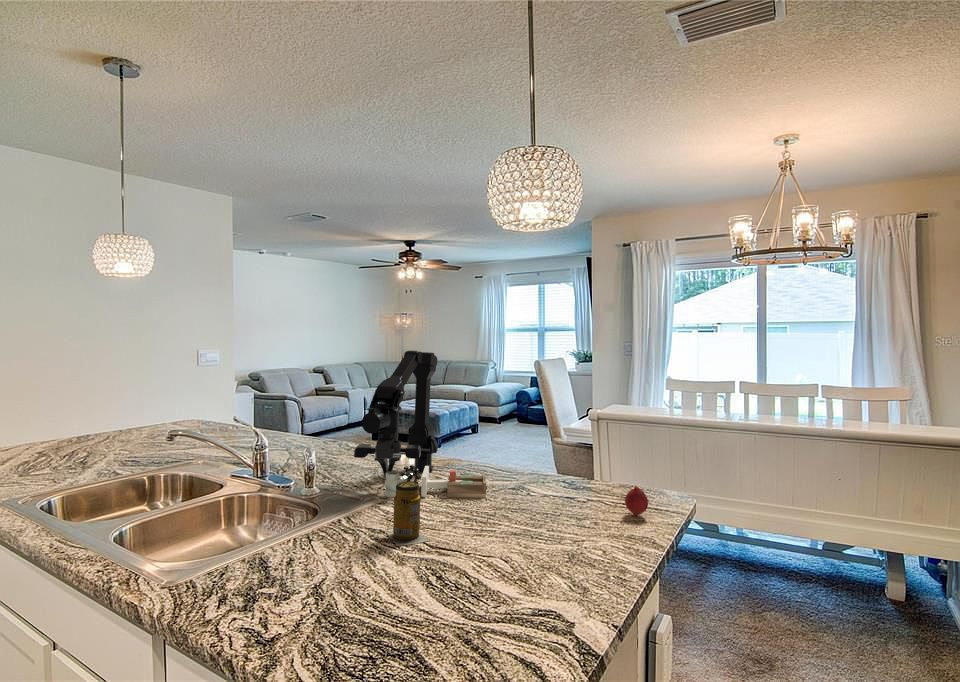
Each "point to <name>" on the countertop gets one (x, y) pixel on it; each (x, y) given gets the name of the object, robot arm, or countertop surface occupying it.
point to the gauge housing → (467, 486)
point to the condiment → (406, 515)
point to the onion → (636, 501)
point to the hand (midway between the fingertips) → (387, 480)
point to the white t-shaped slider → (435, 481)
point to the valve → (399, 480)
